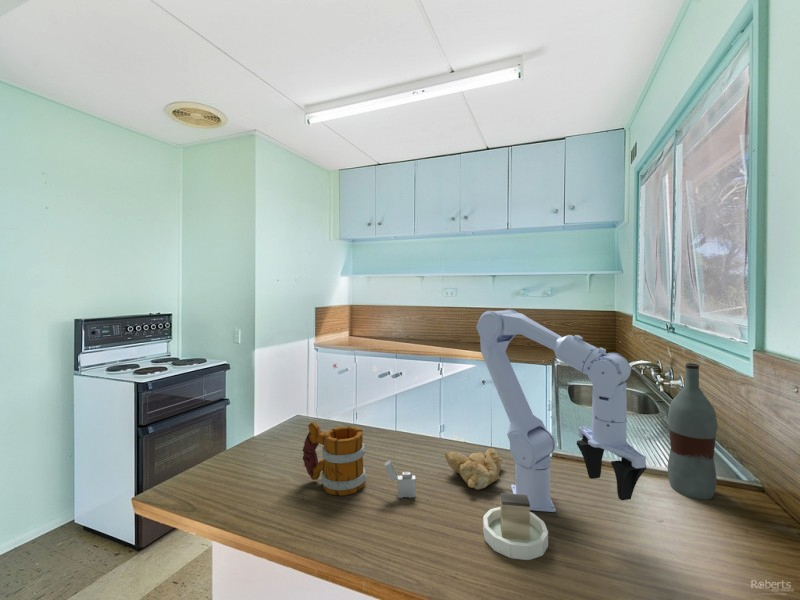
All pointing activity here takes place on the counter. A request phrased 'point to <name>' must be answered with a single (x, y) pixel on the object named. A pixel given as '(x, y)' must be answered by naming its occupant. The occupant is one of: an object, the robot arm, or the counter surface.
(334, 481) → the mug
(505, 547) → the dish
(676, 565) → the counter surface
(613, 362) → the robot arm
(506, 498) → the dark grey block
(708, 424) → the bottle
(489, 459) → the ginger root
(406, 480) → the lighter
